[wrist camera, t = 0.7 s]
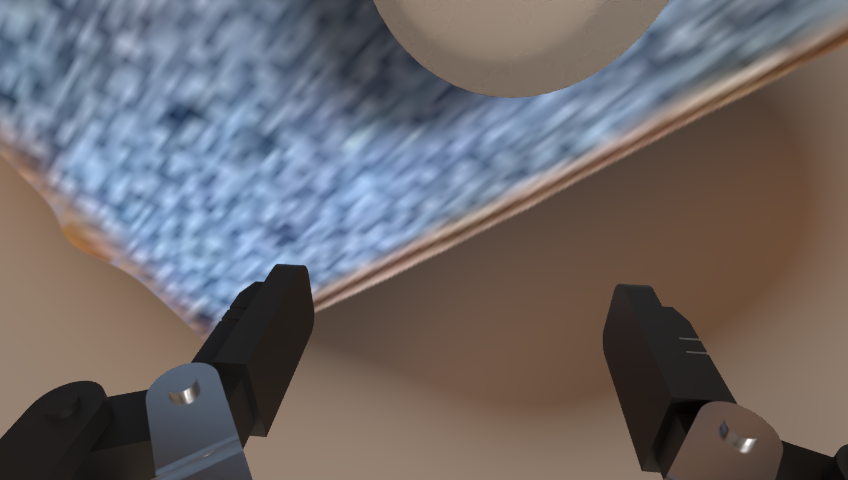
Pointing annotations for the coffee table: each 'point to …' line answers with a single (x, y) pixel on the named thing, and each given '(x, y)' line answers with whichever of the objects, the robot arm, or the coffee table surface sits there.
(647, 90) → the coffee table surface
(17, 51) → the coffee table surface
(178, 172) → the coffee table surface
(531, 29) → the biscuit tin
